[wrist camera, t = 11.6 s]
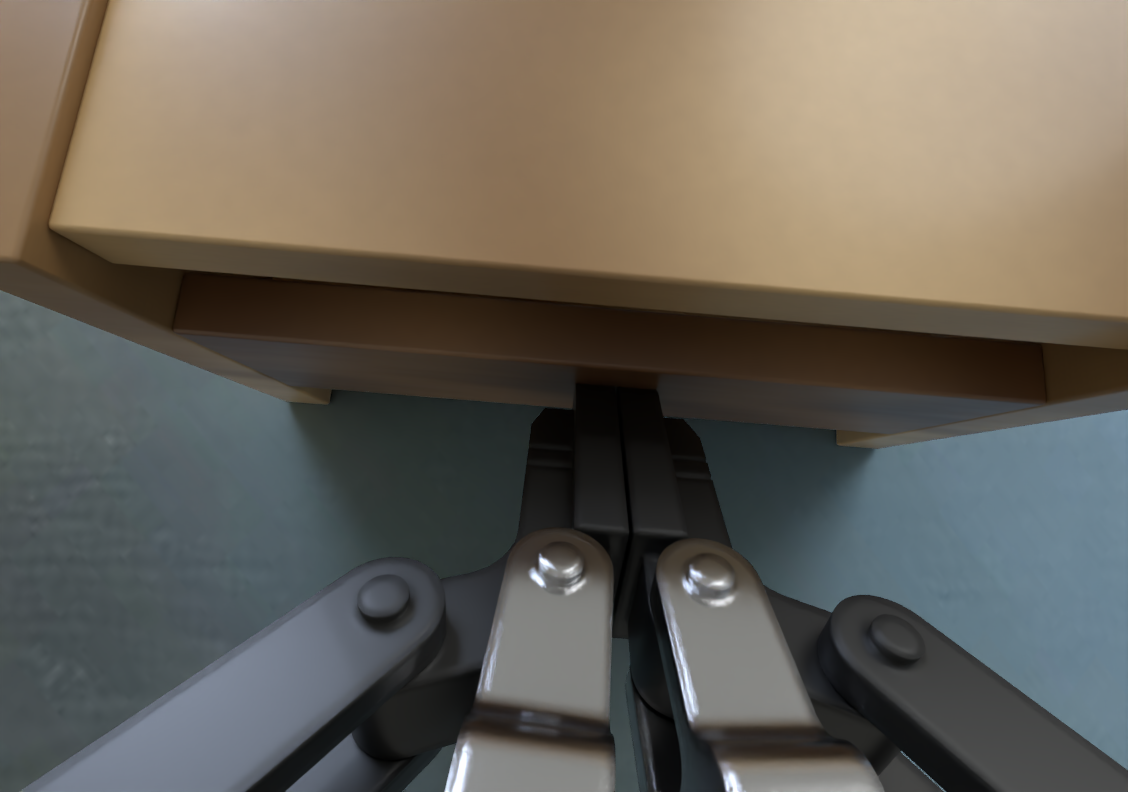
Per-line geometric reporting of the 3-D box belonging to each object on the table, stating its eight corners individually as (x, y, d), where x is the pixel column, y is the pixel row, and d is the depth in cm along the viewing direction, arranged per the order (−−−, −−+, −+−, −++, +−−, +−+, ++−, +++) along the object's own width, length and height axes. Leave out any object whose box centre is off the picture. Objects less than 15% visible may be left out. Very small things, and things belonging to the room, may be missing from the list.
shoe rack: (867, 93, 17) (1210, -337, 8) (878, 449, 15) (1352, 375, 6) (346, 44, 17) (129, -462, 8) (284, 402, 15) (-101, 252, 6)
